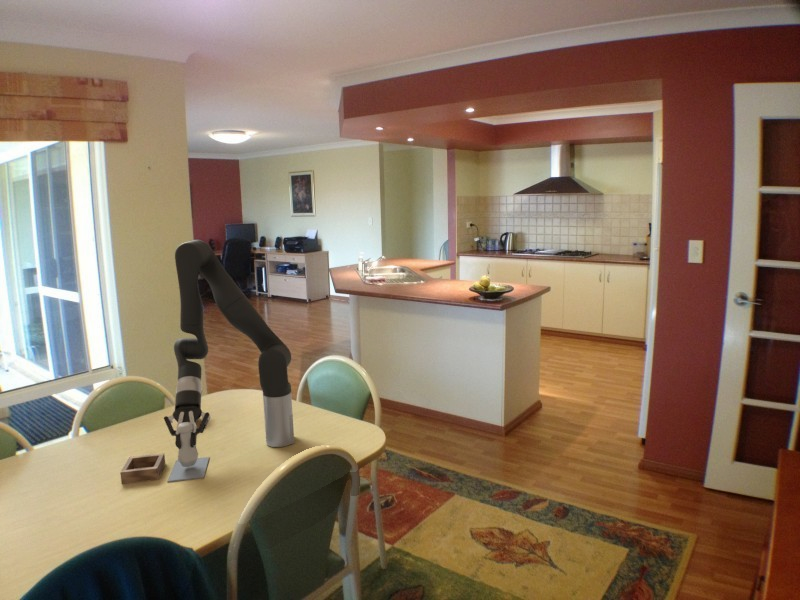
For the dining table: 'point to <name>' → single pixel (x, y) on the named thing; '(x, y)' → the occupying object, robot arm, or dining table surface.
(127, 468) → the pocket block
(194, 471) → the rubber mat
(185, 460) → the salt shaker
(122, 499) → the dining table surface
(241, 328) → the robot arm
